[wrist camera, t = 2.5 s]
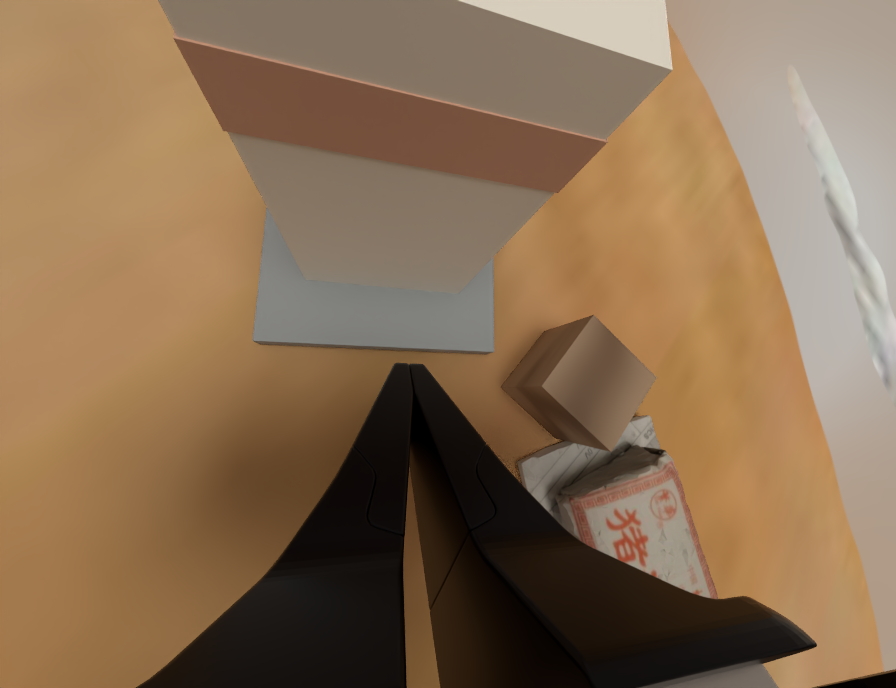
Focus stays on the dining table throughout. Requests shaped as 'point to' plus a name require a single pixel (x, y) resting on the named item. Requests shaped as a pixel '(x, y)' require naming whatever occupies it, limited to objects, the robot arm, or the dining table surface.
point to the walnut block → (581, 384)
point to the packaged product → (623, 504)
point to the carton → (416, 118)
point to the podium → (367, 310)
